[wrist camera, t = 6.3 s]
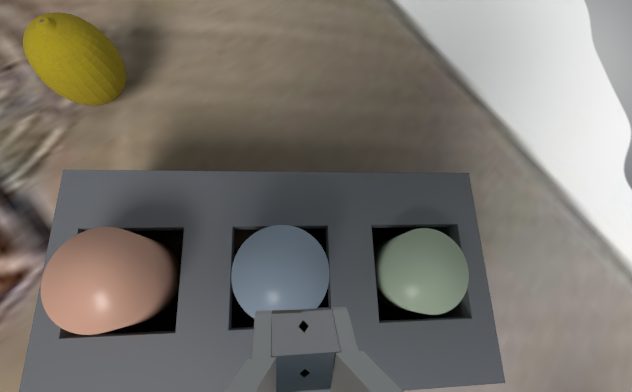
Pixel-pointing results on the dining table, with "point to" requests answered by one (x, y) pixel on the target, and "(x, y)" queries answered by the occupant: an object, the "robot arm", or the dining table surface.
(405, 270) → the sage button
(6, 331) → the dining table surface
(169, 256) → the terracotta button
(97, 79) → the lemon
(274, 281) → the slate button
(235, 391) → the robot arm
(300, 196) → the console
